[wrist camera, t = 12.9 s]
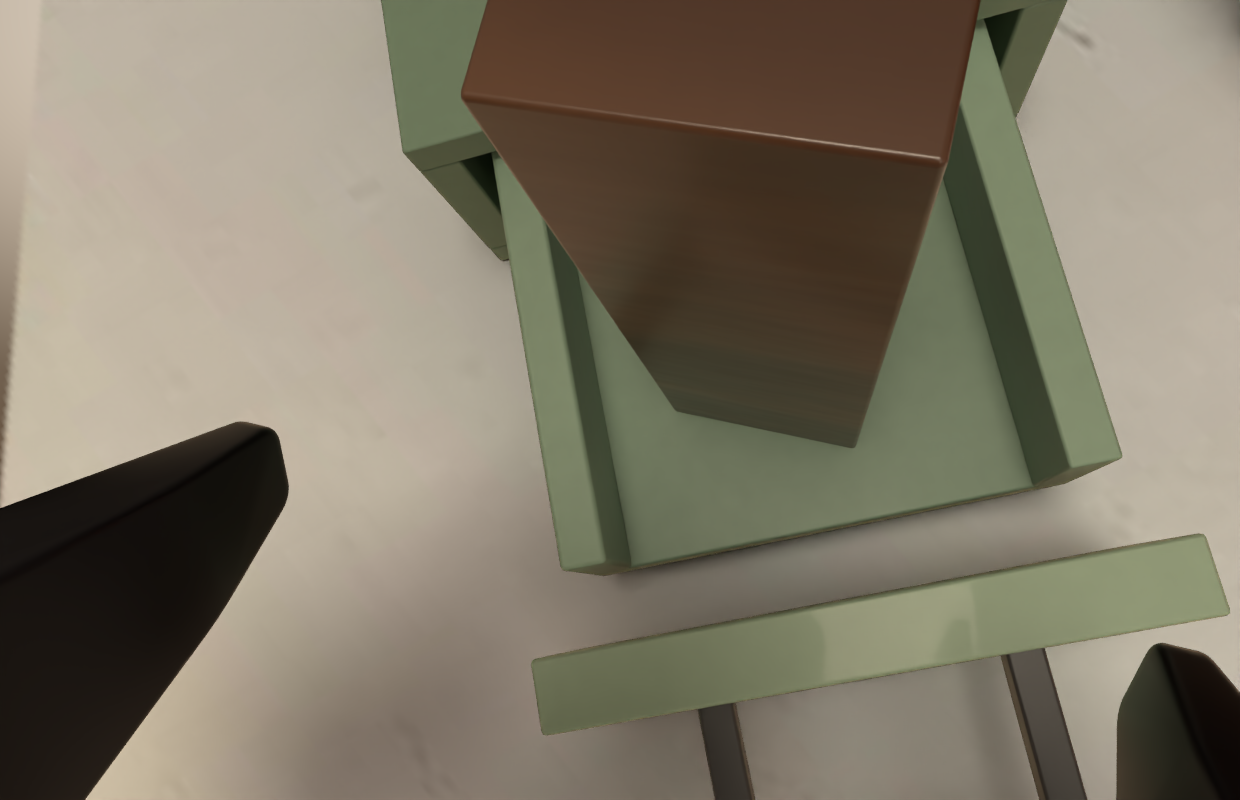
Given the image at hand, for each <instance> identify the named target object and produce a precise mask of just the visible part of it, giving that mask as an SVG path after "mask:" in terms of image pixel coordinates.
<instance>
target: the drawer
mask: <svg viewBox="0 0 1240 800" xmlns="http://www.w3.org/2000/svg"><path fill="white" fill-rule="evenodd" d="M491 153H492V159H493V165H494V171H495V177H496V183H497V189H498V195H499V201H500V207H501V213H502V219H503V225H504V231H505V237H506V243H507V249H508V255H509V261H510V267H511V273H512V279H513V285H514V291H515V297H516V303H517V309H518V315H519V321H520V327H521V333H522V339H523V345H524V351H525V357H526V363H527V369H528V375H529V381H530V387H531V393H532V399H533V404H534V410H535V416H536V422H537V428H538V434H539V440H540V446H541V452H542V458H543V464H544V470H545V476H546V482H547V488H548V494H549V500H550V506H551V512H552V518H553V524H554V530H555V536H556V542H557V548H558V554H559V560H560V566H561V568H562V570H564V571H571V572H579V573H587V574H594V575H600V576H606V575H611V574H616V573H621V572H626V571H631V570H636V569H641V568H646V567H651V566H656V565H661V564H666V563H671V562H676V561H681V560H686V559H691V558H696V557H701V556H706V555H711V554H716V553H721V552H726V551H731V550H736V549H741V548H746V547H751V546H756V545H761V544H766V543H771V542H776V541H781V540H786V539H791V538H796V537H801V536H806V535H811V534H816V533H821V532H826V531H831V530H836V529H841V528H846V527H851V526H856V525H861V524H866V523H871V522H876V521H881V520H886V519H891V518H896V517H901V516H906V515H911V514H916V513H921V512H926V511H931V510H936V509H941V508H946V507H951V506H956V505H961V504H966V503H971V502H976V501H981V500H986V499H991V498H996V497H1001V496H1006V495H1011V494H1016V493H1021V492H1026V491H1031V490H1036V489H1041V488H1046V487H1051V486H1056V485H1061V484H1065V483H1067V482H1070V481H1072V480H1074V479H1077V478H1079V477H1081V476H1083V475H1085V474H1088V473H1090V472H1092V471H1094V470H1097V469H1099V468H1101V467H1103V466H1105V465H1108V464H1110V463H1112V462H1114V461H1117V460H1119V459H1120V458H1122V452H1121V449H1120V446H1119V443H1118V440H1117V437H1116V434H1115V430H1114V427H1113V424H1112V421H1111V418H1110V415H1109V412H1108V408H1107V405H1106V402H1105V399H1104V396H1103V393H1102V390H1101V386H1100V383H1099V380H1098V377H1097V374H1096V371H1095V367H1094V364H1093V361H1092V358H1091V355H1090V352H1089V349H1088V345H1087V342H1086V339H1085V336H1084V333H1083V330H1082V327H1081V323H1080V320H1079V317H1078V314H1077V311H1076V308H1075V305H1074V301H1073V298H1072V295H1071V292H1070V289H1069V286H1068V283H1067V279H1066V276H1065V273H1064V270H1063V267H1062V264H1061V260H1060V257H1059V254H1058V251H1057V248H1056V245H1055V242H1054V238H1053V235H1052V232H1051V229H1050V226H1049V223H1048V220H1047V216H1046V213H1045V210H1044V207H1043V204H1042V201H1041V198H1040V194H1039V191H1038V188H1037V185H1036V182H1035V179H1034V175H1033V172H1032V169H1031V166H1030V163H1029V160H1028V157H1027V153H1026V150H1025V147H1024V144H1023V141H1022V138H1021V135H1020V131H1019V128H1018V125H1017V122H1016V119H1015V116H1014V113H1013V109H1012V106H1011V103H1010V100H1009V97H1008V94H1007V91H1006V87H1005V84H1004V81H1003V78H1002V75H1001V72H1000V68H999V65H998V62H997V59H996V56H995V53H994V50H993V46H992V43H991V40H990V37H989V34H988V31H987V28H986V24H985V21H984V19H980V20H977V22H976V27H975V32H974V36H973V41H972V46H971V51H970V56H969V61H968V66H967V71H966V76H965V81H964V86H963V91H962V96H961V101H960V106H959V111H958V116H957V121H956V126H955V131H954V136H953V141H952V146H951V150H950V155H949V160H948V164H947V167H946V170H945V173H944V176H943V179H942V182H941V185H940V188H939V192H938V195H937V198H936V201H935V204H934V207H933V210H932V213H931V216H930V219H929V222H928V225H927V228H926V232H925V235H924V238H923V241H922V244H921V247H920V250H919V253H918V256H917V259H916V262H915V265H914V268H913V271H912V275H911V278H910V281H909V284H908V287H907V290H906V293H905V296H904V299H903V302H902V305H901V308H900V311H899V315H898V318H897V321H896V324H895V327H894V330H893V333H892V336H891V339H890V342H889V345H888V348H887V351H886V355H885V358H884V361H883V364H882V367H881V370H880V373H879V376H878V379H877V382H876V385H875V388H874V391H873V395H872V398H871V401H870V404H869V407H868V410H867V413H866V416H865V419H864V422H863V425H862V428H861V431H860V435H859V438H858V441H857V444H856V446H855V448H848V447H844V446H839V445H834V444H829V443H825V442H820V441H815V440H810V439H806V438H801V437H796V436H791V435H787V434H782V433H777V432H772V431H768V430H763V429H758V428H753V427H749V426H744V425H739V424H734V423H730V422H725V421H720V420H716V419H711V418H706V417H701V416H697V415H692V414H687V413H682V412H678V411H676V410H674V408H673V407H672V405H671V404H670V402H669V401H668V399H667V398H666V396H665V395H664V394H663V392H662V391H661V389H660V388H659V386H658V385H657V383H656V382H655V380H654V379H653V378H652V376H651V375H650V373H649V372H648V370H647V369H646V367H645V366H644V365H643V363H642V362H641V360H640V359H639V357H638V356H637V354H636V353H635V351H634V350H633V349H632V347H631V346H630V344H629V343H628V341H627V340H626V338H625V337H624V335H623V334H622V333H621V331H620V330H619V328H618V327H617V325H616V324H615V322H614V321H613V319H612V318H611V317H610V315H609V314H608V312H607V311H606V309H605V308H604V306H603V305H602V303H601V302H600V301H599V299H598V298H597V296H596V295H595V293H594V292H593V290H592V289H591V287H590V286H589V285H588V283H587V282H586V280H585V279H584V277H583V276H582V274H581V273H580V271H579V270H578V269H577V267H576V266H575V264H574V263H573V261H572V260H571V258H570V257H569V255H568V254H567V253H566V251H565V250H564V248H563V247H562V245H561V244H560V242H559V241H558V239H557V238H556V237H555V235H554V234H553V232H552V231H551V229H550V228H549V226H548V225H547V223H546V222H545V221H544V219H543V218H542V216H541V215H540V213H539V212H538V210H537V209H536V207H535V206H534V205H533V203H532V202H531V200H530V199H529V197H528V196H527V194H526V193H525V191H524V190H523V189H522V187H521V186H520V184H519V183H518V181H517V180H516V178H515V177H514V175H513V174H512V173H511V171H510V170H509V168H508V167H507V165H506V164H505V162H504V161H503V159H502V158H501V157H500V155H499V154H498V152H497V151H494V152H491ZM1228 614H1230V608H1229V605H1228V602H1227V599H1226V596H1225V593H1224V590H1223V587H1222V584H1221V581H1220V578H1219V575H1218V572H1217V569H1216V566H1215V563H1214V560H1213V557H1212V554H1211V551H1210V548H1209V545H1208V542H1207V539H1206V537H1205V536H1204V534H1193V535H1187V536H1181V537H1175V538H1169V539H1163V540H1157V541H1151V542H1146V543H1140V544H1134V545H1128V546H1122V547H1117V548H1111V549H1106V550H1101V551H1095V552H1090V553H1085V554H1080V555H1074V556H1069V557H1064V558H1058V559H1053V560H1048V561H1043V562H1037V563H1032V564H1027V565H1021V566H1016V567H1011V568H1006V569H1000V570H995V571H990V572H984V573H979V574H974V575H969V576H963V577H958V578H953V579H947V580H942V581H937V582H932V583H926V584H921V585H916V586H910V587H905V588H900V589H895V590H889V591H884V592H879V593H873V594H868V595H863V596H858V597H852V598H847V599H842V600H836V601H831V602H826V603H821V604H815V605H810V606H805V607H799V608H794V609H789V610H784V611H778V612H773V613H768V614H762V615H757V616H752V617H747V618H741V619H736V620H731V621H726V622H720V623H715V624H710V625H704V626H699V627H694V628H689V629H683V630H678V631H673V632H667V633H662V634H657V635H652V636H646V637H641V638H636V639H630V640H625V641H620V642H615V643H609V644H604V645H599V646H593V647H588V648H583V649H579V650H574V651H569V652H565V653H560V654H555V655H551V656H546V657H542V658H537V659H534V660H533V661H532V663H531V667H532V673H533V680H534V686H535V692H536V699H537V705H538V712H539V718H540V725H541V731H542V733H543V735H546V736H548V735H554V734H559V733H565V732H571V731H576V730H582V729H588V728H593V727H599V726H605V725H610V724H616V723H622V722H627V721H633V720H639V719H644V718H650V717H656V716H661V715H667V714H673V713H678V712H684V711H690V710H695V709H698V714H699V719H700V724H701V729H702V734H703V740H704V745H705V750H706V755H707V760H708V765H709V770H710V776H711V781H712V786H713V791H714V796H715V800H755V796H754V791H753V786H752V781H751V776H750V771H749V766H748V761H747V757H746V752H745V747H744V742H743V737H742V732H741V727H740V722H739V717H738V712H737V708H736V703H735V702H741V701H746V700H752V699H758V698H763V697H769V696H775V695H780V694H786V693H792V692H797V691H803V690H809V689H814V688H820V687H826V686H831V685H837V684H843V683H848V682H854V681H860V680H865V679H871V678H877V677H882V676H888V675H894V674H899V673H905V672H910V671H916V670H922V669H927V668H933V667H939V666H944V665H950V664H956V663H961V662H967V661H973V660H978V659H984V658H990V657H995V656H1001V660H1002V664H1003V667H1004V671H1005V675H1006V678H1007V682H1008V686H1009V689H1010V693H1011V697H1012V700H1013V704H1014V708H1015V711H1016V715H1017V719H1018V723H1019V726H1020V730H1021V734H1022V737H1023V741H1024V745H1025V748H1026V752H1027V756H1028V759H1029V763H1030V767H1031V770H1032V774H1033V778H1034V781H1035V785H1036V789H1037V792H1038V796H1039V800H1087V796H1086V793H1085V789H1084V786H1083V782H1082V779H1081V775H1080V772H1079V768H1078V765H1077V761H1076V758H1075V754H1074V750H1073V747H1072V743H1071V740H1070V736H1069V733H1068V729H1067V726H1066V722H1065V719H1064V715H1063V712H1062V708H1061V705H1060V701H1059V698H1058V694H1057V690H1056V687H1055V683H1054V680H1053V676H1052V673H1051V669H1050V666H1049V662H1048V659H1047V655H1046V652H1045V648H1046V647H1052V646H1058V645H1063V644H1069V643H1075V642H1080V641H1086V640H1092V639H1097V638H1103V637H1109V636H1114V635H1120V634H1126V633H1131V632H1137V631H1143V630H1148V629H1154V628H1160V627H1165V626H1171V625H1177V624H1182V623H1188V622H1194V621H1199V620H1205V619H1211V618H1216V617H1222V616H1227V615H1228Z"/></svg>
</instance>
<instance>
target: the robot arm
mask: <svg viewBox="0 0 1240 800" xmlns="http://www.w3.org/2000/svg"><path fill="white" fill-rule="evenodd" d="M288 490H289V485H288V479H287V474H286V469H285V464H284V459H283V454H282V450H281V445H280V440H279V437H278V435H277V434H276V432H275V431H274V430H272V429H271V428H269V427H265V426H261V425H257V424H253V423H249V422H235V423H232V424H229V425H226V426H224V427H221V428H218V429H215V430H213V431H210V432H207V433H204V434H202V435H199V436H196V437H194V438H191V439H188V440H185V441H183V442H180V443H177V444H174V445H172V446H169V447H166V448H164V449H161V450H158V451H155V452H153V453H150V454H147V455H144V456H142V457H139V458H136V459H134V460H131V461H128V462H125V463H123V464H120V465H117V466H114V467H112V468H109V469H106V470H104V471H101V472H98V473H95V474H93V475H90V476H87V477H84V478H82V479H79V480H76V481H74V482H71V483H68V484H65V485H63V486H60V487H57V488H54V489H52V490H49V491H46V492H43V493H41V494H38V495H35V496H33V497H30V498H27V499H24V500H22V501H19V502H16V503H13V504H11V505H8V506H5V507H3V508H0V800H85V799H86V798H87V796H88V795H89V794H90V792H91V791H92V790H93V788H94V787H95V785H96V784H97V783H98V781H99V780H100V779H101V777H102V776H103V775H104V773H105V772H106V771H107V769H108V768H109V766H110V765H111V764H112V762H113V761H114V760H115V758H116V757H117V756H118V754H119V753H120V752H121V750H122V749H123V747H124V746H125V745H126V743H127V742H128V741H129V739H130V738H131V737H132V735H133V734H134V732H135V731H136V730H137V728H138V727H139V726H140V724H141V723H142V722H143V720H144V719H145V718H146V716H147V715H148V713H149V712H150V711H151V709H152V708H153V707H154V705H155V704H156V703H157V701H158V700H159V699H160V697H161V696H162V694H163V693H164V692H165V690H166V689H167V688H168V686H169V685H170V684H171V682H172V681H173V679H174V678H175V677H176V675H177V674H178V673H179V671H180V670H181V669H182V667H183V666H184V665H185V663H186V662H187V660H188V659H189V658H190V656H191V655H192V654H193V652H194V651H195V650H196V648H197V647H198V646H199V644H200V643H201V641H202V640H203V639H204V637H205V636H206V635H207V633H208V632H209V630H210V629H211V627H212V626H213V625H214V623H215V622H216V620H217V619H218V617H219V616H220V614H221V613H222V611H223V609H224V608H225V606H226V605H227V603H228V602H229V600H230V598H231V597H232V595H233V593H234V592H235V590H236V588H237V586H238V585H239V583H240V581H241V580H242V578H243V576H244V575H245V573H246V571H247V569H248V568H249V566H250V564H251V563H252V561H253V559H254V558H255V556H256V554H257V552H258V551H259V549H260V547H261V546H262V544H263V542H264V541H265V539H266V537H267V535H268V534H269V532H270V530H271V529H272V527H273V525H274V524H275V522H276V520H277V518H278V517H279V515H280V513H281V512H282V510H283V508H284V506H285V504H286V501H287V497H288ZM1116 800H1240V692H1239V691H1238V689H1237V688H1236V687H1235V686H1234V685H1233V684H1232V682H1231V681H1230V680H1229V679H1228V678H1227V676H1226V675H1225V674H1224V673H1223V672H1222V670H1221V669H1220V668H1219V667H1218V666H1217V665H1216V663H1215V662H1214V661H1213V660H1212V659H1211V658H1210V657H1209V656H1207V655H1206V654H1204V653H1201V652H1199V651H1195V650H1191V649H1187V648H1183V647H1178V646H1174V645H1170V644H1166V643H1158V644H1155V645H1153V646H1152V647H1151V648H1150V649H1149V650H1148V652H1147V654H1146V655H1145V657H1144V659H1143V661H1142V663H1141V665H1140V667H1139V669H1138V671H1137V673H1136V674H1135V676H1134V678H1133V680H1132V682H1131V684H1130V686H1129V688H1128V690H1127V692H1126V693H1125V695H1124V697H1123V699H1122V702H1121V705H1120V708H1119V713H1118V720H1117V792H1116Z"/></svg>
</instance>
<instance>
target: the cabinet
mask: <svg viewBox="0 0 1240 800" xmlns="http://www.w3.org/2000/svg"><path fill="white" fill-rule="evenodd" d="M381 2H382V9H383V16H384V23H385V30H386V37H387V45H388V52H389V59H390V66H391V73H392V80H393V87H394V94H395V101H396V108H397V115H398V122H399V129H400V136H401V143H402V150H403V153H404V154H405V155H406V156H407V158H408V159H409V160H410V161H411V162H412V163H413V164H414V165H415V166H416V168H417V169H418V170H419V171H421V173H422V174H423V175H424V176H425V177H426V178H427V179H428V181H429V182H430V183H431V184H432V185H433V186H434V187H435V188H436V189H437V191H438V192H439V193H440V194H441V195H442V196H443V197H444V198H445V199H446V201H447V202H448V203H449V204H450V205H451V206H452V207H453V208H454V209H455V211H456V212H457V213H458V214H459V215H460V216H461V217H462V218H463V219H464V221H465V222H466V223H467V224H468V225H469V226H470V227H471V228H472V230H473V231H474V232H475V233H476V234H477V235H478V236H479V237H480V238H481V240H482V241H483V242H484V243H485V244H486V245H487V246H488V247H489V248H491V250H492V251H493V252H494V253H495V254H496V256H497V257H498V258H499V259H500V260H506V259H509V255H508V249H507V243H506V237H505V231H504V225H503V219H502V213H501V207H500V201H499V195H498V189H497V183H496V177H495V171H494V165H493V159H492V153H491V152H494V151H496V149H495V148H494V146H493V145H492V143H491V142H490V141H489V139H488V138H487V136H486V135H485V133H484V132H483V130H482V129H481V127H480V126H479V125H478V123H477V122H476V120H475V119H474V117H473V116H472V114H471V113H470V111H469V110H468V109H467V107H466V106H465V104H464V103H463V101H462V100H461V89H462V86H463V82H464V79H465V76H466V72H467V69H468V65H469V62H470V59H471V55H472V52H473V48H474V45H475V41H476V38H477V35H478V31H479V28H480V24H481V21H482V18H483V14H484V11H485V7H486V4H487V0H381ZM1066 2H1067V0H981V2H980V7H979V12H978V17H977V20H980V19H984V21H985V24H986V28H987V31H988V34H989V37H990V40H991V43H992V46H993V50H994V53H995V56H996V59H997V62H998V65H999V68H1000V72H1001V75H1002V78H1003V81H1004V84H1005V87H1006V91H1007V94H1008V97H1009V100H1010V103H1011V106H1012V109H1013V113H1014V116H1015V118H1016V116H1017V113H1018V112H1019V110H1020V108H1021V105H1022V103H1023V101H1024V99H1025V96H1026V94H1027V92H1028V89H1029V87H1030V85H1031V82H1032V80H1033V78H1034V76H1035V73H1036V71H1037V69H1038V66H1039V64H1040V62H1041V60H1042V57H1043V55H1044V53H1045V50H1046V48H1047V46H1048V44H1049V41H1050V39H1051V37H1052V34H1053V32H1054V30H1055V27H1056V25H1057V23H1058V21H1059V18H1060V16H1061V14H1062V11H1063V9H1064V7H1065V5H1066Z"/></svg>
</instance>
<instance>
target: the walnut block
mask: <svg viewBox="0 0 1240 800" xmlns="http://www.w3.org/2000/svg"><path fill="white" fill-rule="evenodd" d="M980 2H981V0H487V4H486V7H485V11H484V14H483V18H482V21H481V24H480V28H479V31H478V35H477V38H476V41H475V45H474V48H473V52H472V55H471V59H470V62H469V65H468V69H467V72H466V76H465V79H464V82H463V86H462V89H461V100H462V101H463V103H464V104H465V106H466V107H467V109H468V110H469V111H470V113H471V114H472V116H473V117H474V119H475V120H476V122H477V123H478V125H479V126H480V127H481V129H482V130H483V132H484V133H485V135H486V136H487V138H488V139H489V141H490V142H491V143H492V145H493V146H494V148H495V149H496V151H497V152H498V154H499V155H500V157H501V158H502V159H503V161H504V162H505V164H506V165H507V167H508V168H509V170H510V171H511V173H512V174H513V175H514V177H515V178H516V180H517V181H518V183H519V184H520V186H521V187H522V189H523V190H524V191H525V193H526V194H527V196H528V197H529V199H530V200H531V202H532V203H533V205H534V206H535V207H536V209H537V210H538V212H539V213H540V215H541V216H542V218H543V219H544V221H545V222H546V223H547V225H548V226H549V228H550V229H551V231H552V232H553V234H554V235H555V237H556V238H557V239H558V241H559V242H560V244H561V245H562V247H563V248H564V250H565V251H566V253H567V254H568V255H569V257H570V258H571V260H572V261H573V263H574V264H575V266H576V267H577V269H578V270H579V271H580V273H581V274H582V276H583V277H584V279H585V280H586V282H587V283H588V285H589V286H590V287H591V289H592V290H593V292H594V293H595V295H596V296H597V298H598V299H599V301H600V302H601V303H602V305H603V306H604V308H605V309H606V311H607V312H608V314H609V315H610V317H611V318H612V319H613V321H614V322H615V324H616V325H617V327H618V328H619V330H620V331H621V333H622V334H623V335H624V337H625V338H626V340H627V341H628V343H629V344H630V346H631V347H632V349H633V350H634V351H635V353H636V354H637V356H638V357H639V359H640V360H641V362H642V363H643V365H644V366H645V367H646V369H647V370H648V372H649V373H650V375H651V376H652V378H653V379H654V380H655V382H656V383H657V385H658V386H659V388H660V389H661V391H662V392H663V394H664V395H665V396H666V398H667V399H668V401H669V402H670V404H671V405H672V407H673V408H674V410H676V411H678V412H682V413H687V414H692V415H697V416H701V417H706V418H711V419H716V420H720V421H725V422H730V423H734V424H739V425H744V426H749V427H753V428H758V429H763V430H768V431H772V432H777V433H782V434H787V435H791V436H796V437H801V438H806V439H810V440H815V441H820V442H825V443H829V444H834V445H839V446H844V447H848V448H855V446H856V444H857V441H858V438H859V435H860V431H861V428H862V425H863V422H864V419H865V416H866V413H867V410H868V407H869V404H870V401H871V398H872V395H873V391H874V388H875V385H876V382H877V379H878V376H879V373H880V370H881V367H882V364H883V361H884V358H885V355H886V351H887V348H888V345H889V342H890V339H891V336H892V333H893V330H894V327H895V324H896V321H897V318H898V315H899V311H900V308H901V305H902V302H903V299H904V296H905V293H906V290H907V287H908V284H909V281H910V278H911V275H912V271H913V268H914V265H915V262H916V259H917V256H918V253H919V250H920V247H921V244H922V241H923V238H924V235H925V232H926V228H927V225H928V222H929V219H930V216H931V213H932V210H933V207H934V204H935V201H936V198H937V195H938V192H939V188H940V185H941V182H942V179H943V176H944V173H945V170H946V167H947V164H948V160H949V155H950V150H951V146H952V141H953V136H954V131H955V126H956V121H957V116H958V111H959V106H960V101H961V96H962V91H963V86H964V81H965V76H966V71H967V66H968V61H969V56H970V51H971V46H972V41H973V36H974V32H975V27H976V22H977V17H978V12H979V7H980Z"/></svg>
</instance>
